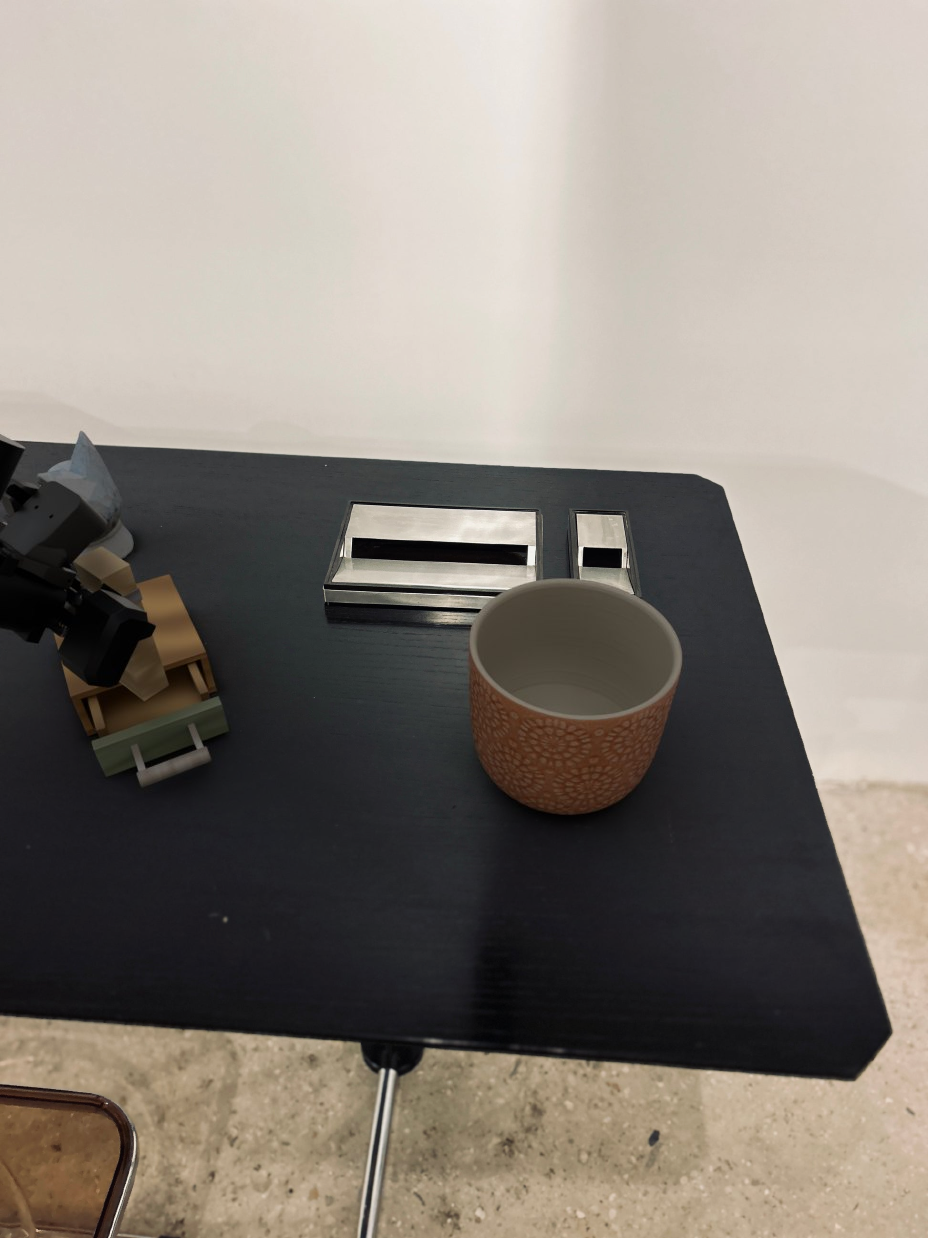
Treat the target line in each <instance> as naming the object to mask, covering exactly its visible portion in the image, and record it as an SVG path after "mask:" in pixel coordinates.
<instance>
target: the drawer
mask: <svg viewBox="0 0 928 1238" xmlns="http://www.w3.org/2000/svg"><path fill="white" fill-rule="evenodd" d="M165 674H166V678H167V681H168V684H169V686H167V687H165V688H164V689H162V690H161V691H159V692H158V693H156V694H155V695H153V696H152V697H150V698H148V699H147V700H145V701H144V700H142V699H141V698H140V697H138V696H137V695H136V694H135V693H133V692H132V691H131V690H129V689H128V688H127V687H125V686H124V685H121V686H118V687H115V688H112V689H109V690H106V691H103V692H100V693H97V694H94V695H91V696H88V697H87V699H88V703H89V706H90V710H91V713H92V717H93V720H94V724H95V727H96V731H97V733H96V734H97V735H98V737H99V738H97V739H93V740H91V746H92V750H93V752H94V754H95V756H96V759H97V761H98V763H99V765H100V767H101V770H102V772H103V774H104V776H105V778H107V777H110V776H113V775H116V774H118V773H122V772H123V771H126V770H129V769H132V768H134V767H136V768H137V772H136V777H137V780H138V782H139V785H140V788H142V789H143V788H147V787H149V786H151V785H153V784H156V783H159V782H161V781H164V780H167V779H170V778H172V777H175V776H176V775H179V774H182V773H185V772H187V771H190V770H192V769H194V768H198V767H200V766H202V765H205V764H207V763H210V762H212V758H211V754H210V752H209V750H208V747H207V746H206V745H205V746H204V744H203V741H206V740H209V739H211V738H214V737H216V736H219V735H222V734H224V733H228V732H229V731H230V729H229V725H228V721H227V718H226V713H225V711H224V706H223V704H222V701H221V699H220V697H219V696H214V697H212V698H211V695H210V693H209V692H208V689H207V687H206V685H205V683H204V680H203V678H202V676H201V674H200V672H199V669H198V667H197V665H196V663H195V661H193V662H190V663H187V664H184V665H181V666H178V667H175V668H172V669H169V670H166V671H165ZM192 745H193V746H195V749H194V750H192V751H189V752H187V753H184V754H181V755H179V756H176V757H174V758H170V759H168V760H165V761H163V762H161V763H157V764H155V765H153V766H150V767H146V765H145V763H147V762H150V761H153V760H156V759H158V758H161V757H164V756H166V755H168V754H171V753H174V752H176V751H179V750H183V749H185V748H187V747H190V746H192Z"/></svg>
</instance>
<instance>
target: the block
mask: <svg viewBox="0 0 928 1238" xmlns="http://www.w3.org/2000/svg"><path fill="white" fill-rule="evenodd" d="M72 564H73V566H74V569H75V571H76V575H77V576H78V579H79V580H80V582H81V584H80V587H81V588H87V589H90V590H91V591H93V592H95V591H97V590H99V589H101V586H102V584H103V583H105V584H106V585H108V586H109V587H111V588H112V589H114V590H115V591H117V592H118V593H120V594H121V595H122V596H123V597H124V598H126V599H128V600H129V601H131V602H132V603H134V604H135V605H137V606H138V607H140V608H141V609H143V610H144V607H143V604H142V601H141V600H143V598H142V595H141V592H140V589H139V588H138V587H137V586H136V584H137V583H136V580H135V577H134V574H133V571H132V568H131V564H130V563H128V562H127V561H126V560H123V559H120V558H119V557H117V556H116V555H114V554H113V553H111V552H109V551H108V550H106V549H105V548H103V547H99V548H97V549H95V550H93V551H91V552H89V553H87V554H85V555H83V556H81V557H79V558H76V559H75V560H74V561H73V562H72ZM144 611H145V610H144ZM119 682H120V683H122V684H123V685H124V686H125V687H127V688H128V689H129V690H131V691H132V692H133V693H135V694H136V695H137V696H138V697H140V698H141V699H142V700H144V701H145V700H147V699H148V698H150V697H152V696H153V695H155V694H156V693H158V692H159V691H161V690H162V689H164V688H165V687H167V686H169V684H168V681H167V678H166V674H165V671H164V668H163V665H162V662H161V659H160V656H159V653H158V650H157V647H156V644H155V641H154V638H153V635H152V636H151V637H149V638H146V639H144V640H141V641H139V642H138V644H137V646H136V648H135V650H134V652H133V654H132V656H131V659H130V661H129V663H128V665H127V667H126V669H125V671H124V673H123V675H122V677H121V679H120V681H119Z"/></svg>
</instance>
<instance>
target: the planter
mask: <svg viewBox="0 0 928 1238" xmlns="http://www.w3.org/2000/svg"><path fill="white" fill-rule="evenodd" d="M682 667H683V649H682V644H681V642H680V640H679V637H678V635H677V633H676V631H675V629H674V627H673V626H672V625H671V623H670V622H669V621H668V620H667V618H666V617H665V616H664V615H663V614H662V613H661V612H660V611H658V609H656V607H654V606H652V605H651V604H649V602H647V601H645V600H644V599H642V598H640V597H639V596H637V595H635V594H633V593H632V592H629V591H626V590H624V589H622V588H619V587H616V586H613V585H610V584H607V583H603V582H598V581H595V580H588V579H581V578H567V577H565V578H561V577H560V578H548V579H547V578H546V579H539V580H533V581H529V582H526V583H521V584H519V585H516V586H514V587H511V588H508V589H507V590H504V591H503V592H501V593H499V594H498V595H496V596H495V597H493V598H492V599H490V600H489V601H488V602H487V603H486V604H484V606H482V608H481V609H480V610H479V612H478V613H477V615H476V617H475V618H474V620H473V621H472V624H471V627H470V631H469V636H468V686H469V687H468V688H469V689H468V690H469V691H468V693H469V694H468V697H469V699H468V700H469V716H470V727H471V728H470V729H471V733H472V739H473V744H474V749H475V752H476V755H477V758H478V760H479V762H480V764H481V765H482V767H483V769H484V772H485V773H486V775H488V777H489V778H490V779H491V781H492V782H493V783H494V784H495V785H496V786H497V787H498V788H499V789H500V790H501V791H502V792H503V793H505V794H506V795H507V796H509V797H510V798H511V799H512V800H514V801H517V802H518V803H520V804H522V805H524V806H526V807H529V808H531V809H533V810H537V811H540V812H542V813H543V812H544V813H547V814H553V815H564V816H574V815H585V814H590V813H595V812H597V811H600V810H603V809H605V808H608V807H611V806H613V805H614V804H616V803H618V802H620V801H621V800H622V799H624V798H626V797H627V796H628V795H629V794H631V792H632V791H633V790H634V789H635V788H636V787H637V786H638V785H639V784H640V783H641V781H642V779H643V778H644V777H645V775H646V774H647V772H648V770H649V768H650V767H651V764H652V762H653V760H654V758H655V756H656V754H657V750H658V748H659V745H660V742H661V741H662V737H663V733H664V730H665V727H666V723H667V720H668V717H669V713H670V710H671V707H672V704H673V700H674V697H675V694H676V691H677V687H678V684H679V680H680V676H681V672H682Z"/></svg>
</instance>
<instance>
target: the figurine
mask: <svg viewBox="0 0 928 1238" xmlns="http://www.w3.org/2000/svg"><path fill="white" fill-rule="evenodd" d="M72 451H73V452H72V454H71V457H70V459H69V460H64V461H61V462H58V463H57V464H55V465H53V466H51V468H49V469H48V470H47V472H41V473H40V472H39V473H37V475H36V480H37V482H39V480H40V479H43V480H45V481H46V482H50V481H56V482H58V483H60V484H62V485H63V486H65V487H67V488H68V489H70V490H72V491H73V492H75V493H77V494H78V495H79V496H81V497H82V498H83V499H84V500H85V501H86V502H87V503H88V504H89V505H90V506H91V507H92V508H93V509H95V510H96V511H97V512H98V513H99V514H100V515H101V516H102V517H103V518H104V519H105V520H106V521H107V528H106V530H105V532H104V533H103V534H102V535H101V536H100V537H99V538H95V539H94V540H93V541H92V542H91V543H90V545H89V546H88V547H87V548H86V549H85V550H84V551H83V552H82V553H81V554H80V555H79V556H78V557H77V558H79V557H81V556H83V555H85V554H87V553H89V552H91V551H93V550H95V549H97V548H99V547H103V548H105V549H106V550H108V551H109V552H111V553H113V554H114V555H116V556H117V557H119V558H120V559H122V560H123V559H125V558H126V557H127V556H128V555H129V554H130V553H132V552H133V550H134V546H135V545H134V544H135V543H134V538H133V535H132V534H131V532H130V531H129V530H128V529H127V528H126V527H125V526H124V524H123V522H122V520H121V515H122V512H123V507H124V505H123V500H122V496H121V493H120V492H119V489H118V487H117V485H116V484H115V482H114V479H113V478H112V475H111V473H110V471H109V470H108V467H107V466H106V464H105V462H104V461H103V458H102V456H101V455H100V453H99V452H98V450H97V448H96V447H95V445H94V443H93V442H92V441H91V439H90V438H89V437H88V435H87V433H85V432H84V431H83V430H80V431H79V433H78V437H77V440H76V442H75V446H74V448H73V450H72ZM37 486H41V485H40V484H39V483H38V485H37ZM77 558H76V559H77Z"/></svg>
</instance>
